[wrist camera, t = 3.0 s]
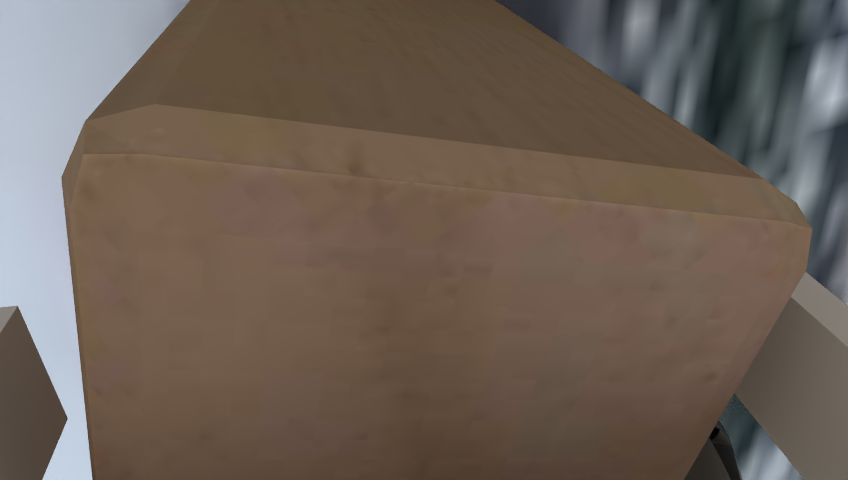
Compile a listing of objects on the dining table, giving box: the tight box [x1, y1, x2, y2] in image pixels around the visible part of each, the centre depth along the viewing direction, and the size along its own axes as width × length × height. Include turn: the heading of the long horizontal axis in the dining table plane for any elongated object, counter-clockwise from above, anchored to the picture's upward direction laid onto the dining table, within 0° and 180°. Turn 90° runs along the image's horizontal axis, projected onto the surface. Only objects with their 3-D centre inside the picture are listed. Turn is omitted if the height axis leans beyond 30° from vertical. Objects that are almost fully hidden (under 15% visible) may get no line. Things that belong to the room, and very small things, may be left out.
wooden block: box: [61, 0, 812, 480], centre depth 18 cm, size 10×10×20 cm
